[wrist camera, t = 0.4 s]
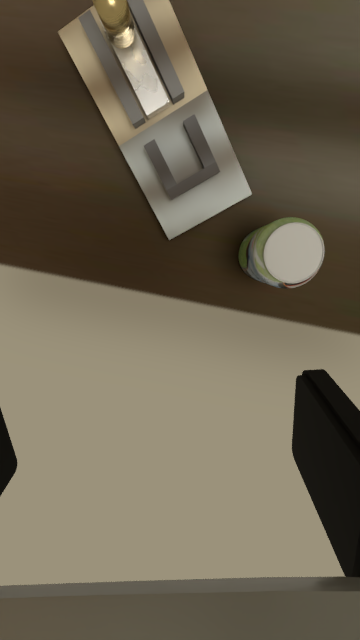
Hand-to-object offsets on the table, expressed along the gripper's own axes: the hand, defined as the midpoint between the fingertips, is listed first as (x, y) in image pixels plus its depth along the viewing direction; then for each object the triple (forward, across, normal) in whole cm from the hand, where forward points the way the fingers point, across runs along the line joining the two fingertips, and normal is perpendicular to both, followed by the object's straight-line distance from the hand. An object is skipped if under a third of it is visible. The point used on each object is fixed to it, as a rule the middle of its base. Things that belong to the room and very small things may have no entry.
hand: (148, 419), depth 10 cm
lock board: (+30, 0, -14) cm, 33 cm away
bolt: (+28, +2, -18) cm, 33 cm away
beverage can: (+30, -10, -1) cm, 32 cm away
